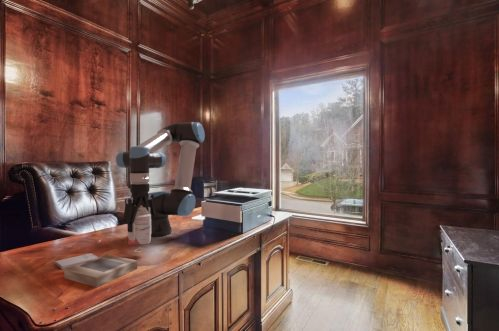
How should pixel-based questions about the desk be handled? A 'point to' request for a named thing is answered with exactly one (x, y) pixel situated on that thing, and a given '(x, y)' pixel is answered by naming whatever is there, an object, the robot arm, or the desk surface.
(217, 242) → the desk surface
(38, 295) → the desk surface
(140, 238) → the ink cartridge box
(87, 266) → the ash base block
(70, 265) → the external hard drive
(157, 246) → the desk surface
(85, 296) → the desk surface
